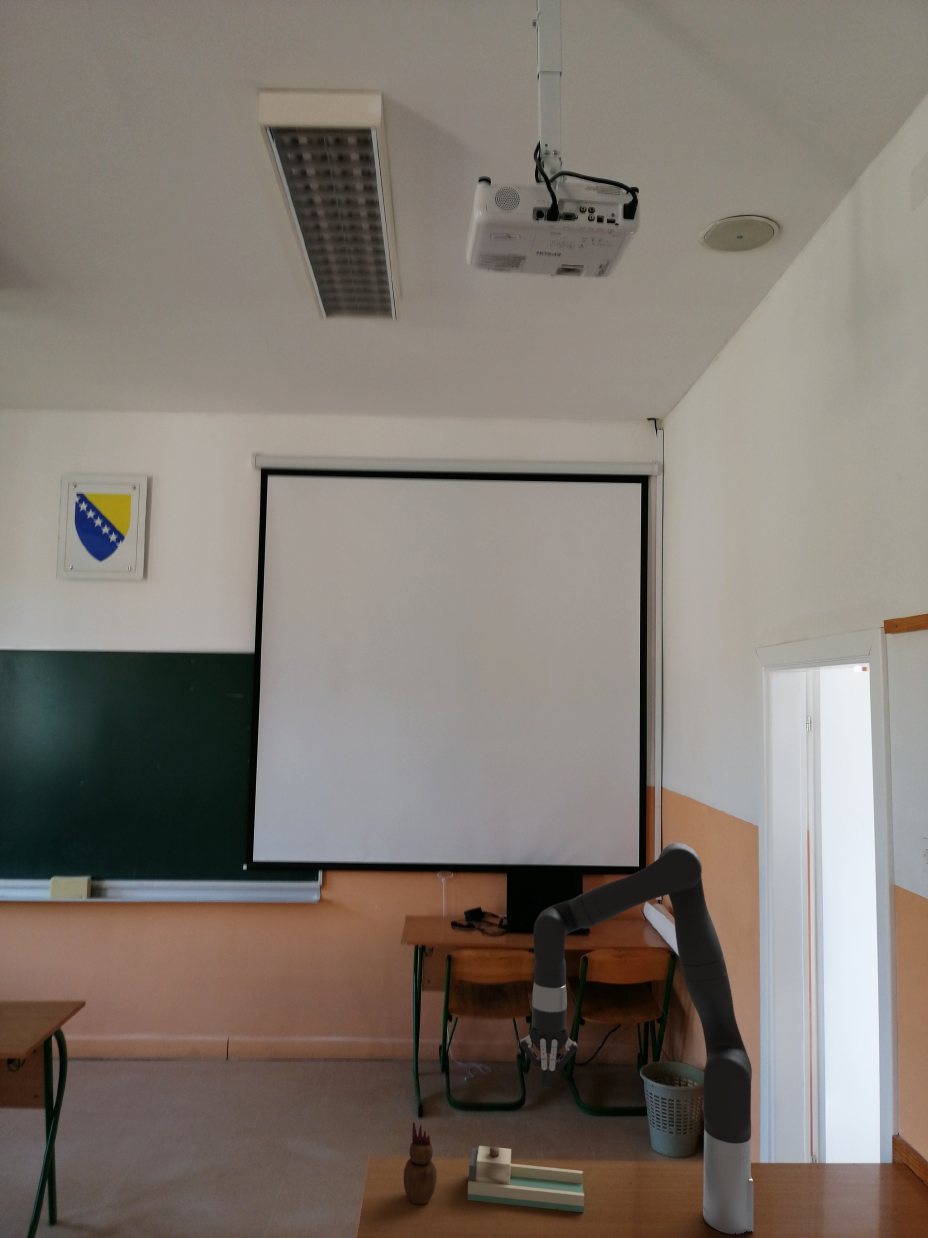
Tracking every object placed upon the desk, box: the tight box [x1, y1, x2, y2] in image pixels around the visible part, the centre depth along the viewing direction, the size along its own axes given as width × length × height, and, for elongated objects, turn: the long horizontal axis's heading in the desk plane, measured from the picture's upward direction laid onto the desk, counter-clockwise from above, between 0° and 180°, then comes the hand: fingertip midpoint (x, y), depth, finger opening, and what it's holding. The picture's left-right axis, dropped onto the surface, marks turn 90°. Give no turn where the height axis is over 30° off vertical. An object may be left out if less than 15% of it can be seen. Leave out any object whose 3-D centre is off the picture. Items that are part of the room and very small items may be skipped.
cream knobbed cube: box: [476, 1145, 512, 1185], centre depth 175 cm, size 7×6×7 cm
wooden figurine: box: [403, 1121, 438, 1205], centre depth 171 cm, size 7×6×15 cm
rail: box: [467, 1147, 585, 1213], centre depth 174 cm, size 24×9×6 cm, turn 84°
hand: (547, 1086), depth 179 cm, fingers closed
